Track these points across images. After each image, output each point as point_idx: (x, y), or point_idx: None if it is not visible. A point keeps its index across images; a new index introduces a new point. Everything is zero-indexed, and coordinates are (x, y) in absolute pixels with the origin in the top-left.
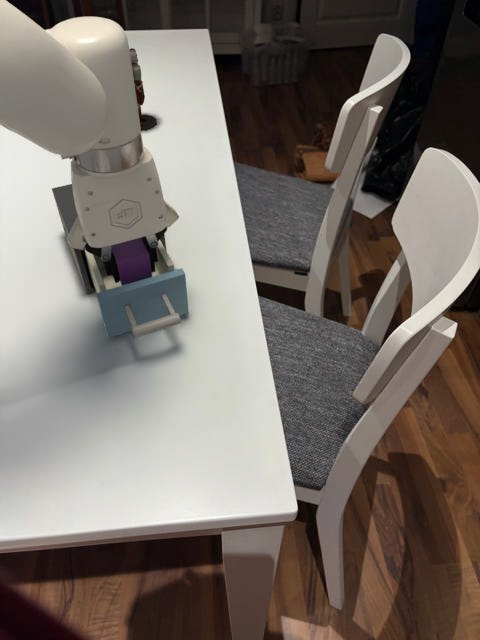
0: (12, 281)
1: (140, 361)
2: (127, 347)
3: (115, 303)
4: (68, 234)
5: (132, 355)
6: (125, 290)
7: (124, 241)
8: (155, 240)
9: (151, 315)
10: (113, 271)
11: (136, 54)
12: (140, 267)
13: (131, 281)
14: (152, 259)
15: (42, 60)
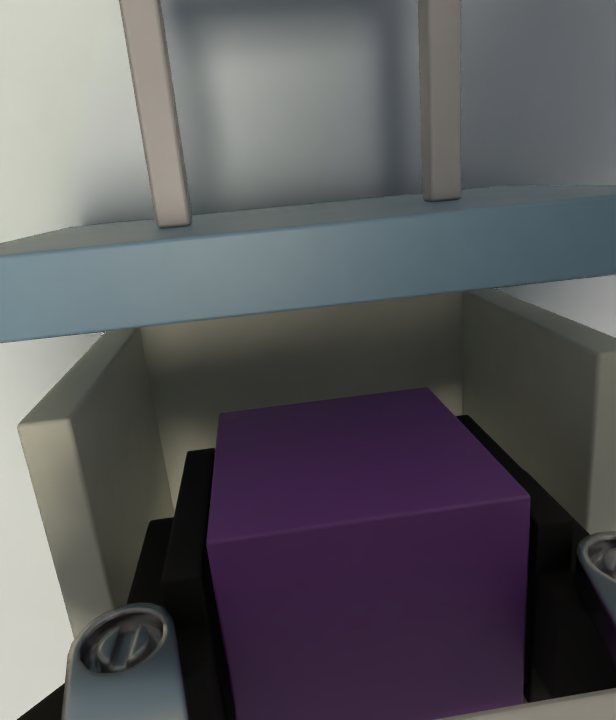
0: None
1: (381, 3)
2: (417, 124)
3: (537, 194)
4: None
5: (407, 61)
6: (485, 216)
7: (595, 701)
8: (89, 683)
9: (277, 209)
10: (512, 459)
11: None
12: (300, 456)
13: (367, 400)
14: (186, 511)
15: None
